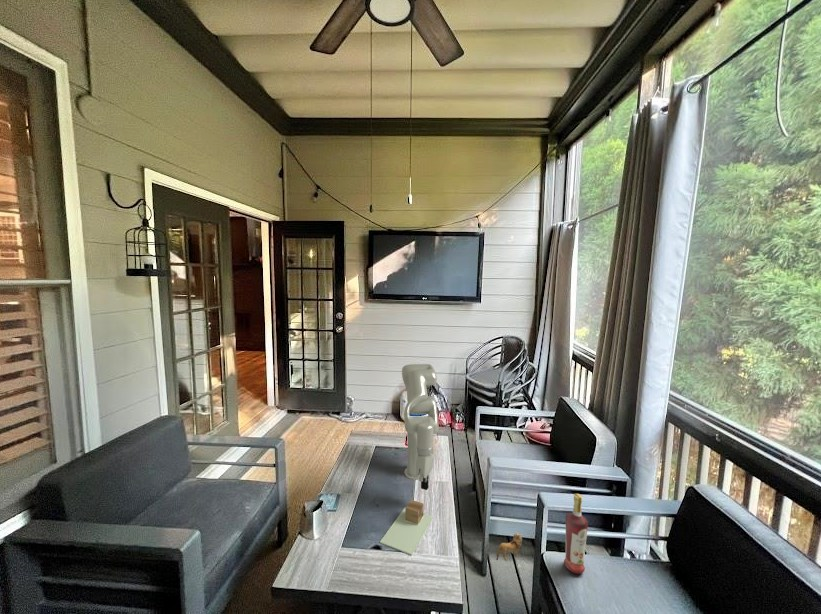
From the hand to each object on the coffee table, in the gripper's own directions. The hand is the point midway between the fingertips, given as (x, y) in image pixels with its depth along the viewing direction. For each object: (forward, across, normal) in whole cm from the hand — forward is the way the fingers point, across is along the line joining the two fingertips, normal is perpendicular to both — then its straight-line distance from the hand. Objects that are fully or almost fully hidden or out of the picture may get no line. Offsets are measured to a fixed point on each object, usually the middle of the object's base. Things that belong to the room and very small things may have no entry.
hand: (424, 488), depth 156 cm
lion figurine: (+10, +12, +40) cm, 43 cm away
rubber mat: (+9, +16, -1) cm, 19 cm away
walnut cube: (+8, +10, -1) cm, 13 cm away
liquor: (+10, +7, +63) cm, 64 cm away
